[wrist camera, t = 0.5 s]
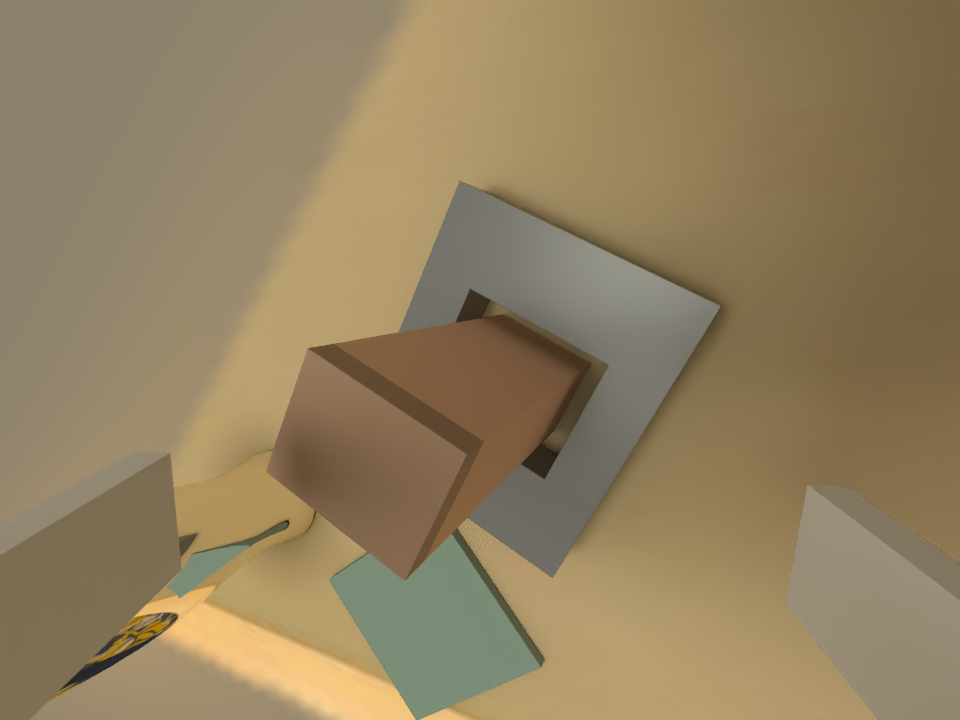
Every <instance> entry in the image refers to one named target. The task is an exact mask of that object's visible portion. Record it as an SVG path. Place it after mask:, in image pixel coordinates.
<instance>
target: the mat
mask: <svg viewBox="0 0 960 720" xmlns="http://www.w3.org/2000/svg"><path fill="white" fill-rule="evenodd" d="M329 581H330V583H331V585H332V586H333V588H334V589H335V591H336V593H337V594H338V596H339V597H340V599H341V601H342V602H343V604H344V605H345V607H346V609H347V610H348V612H349V613H350V615H351V617H352V618H353V620H354V621H355V623H356V625H357V626H358V628H359V629H360V631H361V633H362V634H363V636H364V637H365V639H366V641H367V642H368V644H369V645H370V647H371V649H372V650H373V652H374V653H375V655H376V657H377V658H378V660H379V661H380V663H381V665H382V666H383V668H384V669H385V671H386V673H387V674H388V676H389V677H390V679H391V681H392V682H393V684H394V685H395V687H396V689H397V690H398V692H399V693H400V695H401V697H402V698H403V700H404V701H405V703H406V705H407V706H408V708H409V709H410V711H411V713H412V714H413V716H414V717H415V719H416V720H419V719H422V718H424V717H426V716H429V715H431V714H433V713H436V712H438V711H440V710H443V709H445V708H447V707H450V706H452V705H454V704H457V703H459V702H461V701H464V700H466V699H468V698H471V697H473V696H475V695H478V694H480V693H482V692H485V691H487V690H489V689H492V688H494V687H496V686H499V685H501V684H503V683H506V682H508V681H510V680H513V679H515V678H517V677H520V676H522V675H524V674H527V673H529V672H531V671H534V670H536V669H538V668H541V666H542V664H543V662H544V659H543V657H542V656H541V654H540V653H539V651H538V650H537V648H536V647H535V645H534V644H533V642H532V641H531V639H530V638H529V636H528V635H527V633H526V632H525V630H524V629H523V627H522V626H521V624H520V623H519V621H518V620H517V618H516V617H515V615H514V614H513V612H512V611H511V609H510V608H509V606H508V605H507V603H506V602H505V601H504V599H503V598H502V596H501V595H500V593H499V592H498V590H497V589H496V587H495V586H494V584H493V583H492V581H491V580H490V578H489V577H488V575H487V574H486V572H485V571H484V569H483V568H482V566H481V565H480V563H479V562H478V560H477V559H476V557H475V556H474V554H473V553H472V551H471V550H470V548H469V547H468V545H467V544H466V542H465V541H464V539H463V538H462V536H461V535H460V533H459V532H458V531H457V529H456V530H455V531H454V532H453V533H452V534H451V535H450V536H449V537H448V538H447V539H446V540H445V541H444V542H443V543H442V544H441V545H440V546H439V547H438V548H437V549H436V550H435V551H434V552H433V553H432V554H431V555H430V556H429V557H428V558H427V559H426V560H425V561H424V562H423V563H422V564H421V565H420V566H419V567H418V568H417V569H416V570H415V571H414V572H413V573H412V574H411V575H410V576H409V577H408V578H407V579H406V580H405V581H404V580H403V579H401V578H400V577H399V576H398V575H396V574H395V573H394V572H393V571H391V570H390V569H389V568H387V567H386V566H385V565H384V564H382V563H381V562H380V561H379V560H377V559H376V558H375V557H373V556H372V555H371V554H370V553H367V554H365V555H364V556H362V557H361V558H359V559H358V560H356V561H355V562H353V563H352V564H351V565H349V566H348V567H346V568H345V569H343V570H342V571H340V572H339V573H337V574H336V575H334V576H333V577H332V578H330V579H329Z"/></svg>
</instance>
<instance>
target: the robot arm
mask: <svg viewBox="0 0 960 720" xmlns="http://www.w3.org/2000/svg"><path fill="white" fill-rule="evenodd" d="M181 570H182V569H181V559H180V549H179V538H178V528H177V518H176V508H175V498H174V488H173V477H172V467H171V457H170V453H165V452H145V451H134V452H132V453H130V454H128V455H126V456H124V457H123V458H121V459H119V460H117V461H115V462H113V463H112V464H110V465H108V466H106V467H104V468H102V469H100V470H98V471H97V472H95V473H93V474H91V475H89V476H87V477H86V478H84V479H82V480H80V481H78V482H76V483H74V484H73V485H71V486H69V487H67V488H65V489H63V490H61V491H59V492H58V493H56V494H54V495H52V496H50V497H48V498H46V499H45V500H43V501H41V502H39V503H37V504H35V505H33V506H32V507H30V508H28V509H26V510H24V511H22V512H21V513H19V514H17V515H15V516H13V517H11V518H9V519H7V520H6V521H4V522H2V523H0V720H30V719H31V718H32V717H33V716H34V715H35V714H36V713H37V712H38V711H39V710H40V709H41V708H42V707H43V706H44V705H45V704H46V703H47V702H48V701H49V700H50V699H51V698H52V697H53V696H54V695H55V694H56V693H57V692H58V691H59V690H60V689H61V688H62V687H63V686H64V685H65V684H66V683H67V682H68V681H69V680H70V679H71V678H72V677H74V676H75V675H76V674H77V673H78V672H79V671H80V670H81V669H82V668H83V667H84V666H85V665H86V664H87V663H88V662H89V661H90V660H91V659H92V658H93V657H94V656H95V655H96V654H97V653H98V652H99V651H100V650H101V649H102V648H103V647H104V646H105V645H106V644H107V643H108V642H109V641H110V640H111V639H112V638H113V637H114V636H115V635H116V634H117V633H118V632H119V631H120V630H121V629H122V628H123V627H124V626H125V625H126V624H127V623H128V622H129V621H130V620H131V619H132V618H133V617H134V616H135V615H136V614H137V613H138V612H139V611H140V610H141V609H142V608H143V607H144V606H145V605H146V604H147V603H148V602H149V601H150V600H151V599H152V598H153V597H154V596H155V595H156V594H157V593H159V592H160V591H161V590H162V589H163V588H164V587H165V586H166V585H167V584H168V583H169V582H170V581H171V580H172V579H173V578H174V577H175V576H176V575H177V574H178V573H179V572H180V571H181ZM786 606H787V607H788V608H789V610H790V611H791V612H792V613H793V615H794V616H795V617H796V618H797V620H798V621H799V622H800V623H801V625H802V626H803V627H804V628H805V630H806V631H807V632H808V633H809V634H810V636H811V637H812V638H813V639H814V641H815V642H816V643H817V644H818V646H819V647H820V648H821V649H822V651H823V652H824V653H825V654H826V656H827V657H828V658H829V659H830V661H831V662H832V663H833V664H834V666H835V667H836V668H837V669H838V671H839V672H840V673H841V674H842V675H843V677H844V678H845V679H846V680H847V682H848V683H849V684H850V685H851V687H852V688H853V689H854V690H855V692H856V693H857V694H858V695H859V697H860V698H861V699H862V700H863V702H864V703H865V704H866V705H867V707H868V708H869V709H870V710H871V712H872V713H873V714H874V715H875V716H876V718H877V719H878V720H960V563H958V562H957V561H955V560H954V559H952V558H951V557H949V556H948V555H946V554H945V553H944V552H942V551H941V550H939V549H938V548H936V547H935V546H933V545H932V544H930V543H929V542H927V541H926V540H924V539H923V538H921V537H920V536H918V535H917V534H916V533H914V532H913V531H911V530H910V529H908V528H907V527H905V526H904V525H902V524H901V523H899V522H898V521H896V520H895V519H893V518H892V517H891V516H889V515H888V514H886V513H885V512H883V511H882V510H880V509H879V508H877V507H876V506H874V505H873V504H871V503H870V502H868V501H867V500H865V499H864V498H863V497H861V496H860V495H858V494H857V493H855V492H854V491H852V490H851V489H849V488H848V487H846V486H828V485H808V484H807V489H806V494H805V500H804V505H803V511H802V516H801V522H800V527H799V533H798V538H797V544H796V549H795V555H794V560H793V566H792V571H791V577H790V582H789V588H788V594H787V599H786Z"/></svg>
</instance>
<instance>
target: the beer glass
mask: <svg viewBox="0 0 960 720" xmlns="http://www.w3.org/2000/svg"><path fill="white" fill-rule="evenodd" d="M272 452H273V450H270V451H264V452H261V453H259V454H257V455H255V456H253V457H252V458H250V459H248V460H247V461H245V462H244V463H242V464H241V465H239V466H238V467H236V468H235V469H233V470H231V471H229V472H227V473H225V474H223V475H221V476H218V477H215V478H212V479H209V480H206V481H201V482H197V483H193V484H188V485H183V486H178V487H173V488H174V498H175V508H176V518H177V528H178V538H179V549H180V559H181V569H182V570H181V571H180V572H179V573H178V574H177V575H176V576H175V577H174V578H173V579H172V580H171V581H170V582H169V583H168V584H167V585H166V586H165V587H164V588H163V589H162V590H161V591H160V592H159V593H157V594H156V595H155V596H154V597H153V598H152V599H151V600H150V601H149V602H148V603H147V604H146V605H145V606H144V607H143V608H142V609H141V610H140V611H139V612H138V613H137V614H136V615H135V616H134V617H133V618H132V619H131V620H130V621H129V622H128V623H127V624H126V625H125V626H124V627H123V628H122V629H121V630H120V631H119V632H118V633H117V634H116V635H115V636H114V637H113V638H112V639H111V640H110V641H109V642H108V643H107V644H106V645H105V646H104V647H103V648H102V649H101V650H100V651H99V652H98V653H97V654H96V655H95V656H94V657H93V658H92V659H91V660H90V661H89V662H88V663H87V664H86V665H85V666H84V667H83V668H82V669H81V670H80V671H79V672H78V673H77V674H76V675H75V676H74V677H72V678H71V679H70V680H69V681H68V682H67V683H66V684H65V685H64V686H63V687H62V688H61V689H60V690H59V691H58V692H57V693H56V694H55V695H54V696H53V697H52V698H51V699H50V700H49V701H51V700H53V699H55V698H56V697H58V696H60V695H62V694H63V693H65V692H67V691H69V690H71V689H72V688H74V687H76V686H78V685H80V684H81V683H83V682H85V681H87V680H89V679H90V678H92V677H94V676H95V675H97V674H99V673H101V672H102V671H104V670H106V669H108V668H109V667H111V666H113V665H114V664H116V663H118V662H119V661H121V660H123V659H124V658H126V657H127V656H129V655H131V654H132V653H134V652H135V651H137V650H139V649H140V648H142V647H143V646H145V645H146V644H148V643H149V642H151V641H152V640H154V639H155V638H156V637H158V636H159V635H161V634H162V633H164V632H165V631H166V630H168V629H169V628H171V627H172V626H173V625H174V624H176V623H177V622H178V621H179V620H181V619H182V618H183V617H184V616H185V615H187V614H188V613H189V612H190V611H192V610H193V609H194V608H195V607H196V606H198V605H199V604H200V603H201V602H202V601H203V600H204V599H205V598H207V597H208V596H209V595H210V594H211V593H212V592H213V591H214V590H216V589H217V588H218V587H219V586H220V585H221V584H222V583H223V582H224V581H225V580H227V579H228V578H229V577H230V576H231V575H232V574H233V573H234V572H236V571H237V570H238V569H239V568H240V567H241V566H243V565H244V564H245V563H246V562H247V561H249V560H250V559H251V558H253V557H254V556H256V555H257V554H259V553H260V552H262V551H264V550H265V549H268V548H270V547H272V546H275V545H277V544H280V543H283V542H286V541H289V540H291V539H294V538H296V537H298V536H300V535H302V534H303V533H304V532H305V531H306V530H307V529H308V528H309V527H310V525H311V523H312V521H313V518H314V514H315V510H314V509H312V508H311V507H310V506H309V505H307V504H306V503H305V502H304V501H302V500H301V499H300V498H298V497H297V496H296V495H295V494H293V493H292V492H291V491H290V490H288V489H287V488H286V487H284V486H283V485H282V484H281V483H279V482H278V481H277V480H276V479H274V478H273V477H272V476H271V475H269V474H268V473H267V472H266V470H267V467H268V464H269V461H270V458H271V455H272ZM49 701H48V702H49ZM48 702H47V703H48Z"/></svg>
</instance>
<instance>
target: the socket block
mask: <svg viewBox="0 0 960 720" xmlns="http://www.w3.org/2000/svg"><path fill="white" fill-rule="evenodd" d="M489 299H490V300H492V301H494V302H495V303H497V304H499V305H501V306H503V307H504V308H506V309H508V310H510V311H512V312H514V313H515V314H517V315H519V316H521V317H523V318H524V319H526V320H528V321H530V322H532V323H534V324H535V325H537V326H539V327H541V328H543V329H544V330H546V331H548V332H550V333H552V334H553V335H555V336H557V337H559V338H561V339H563V340H564V341H566V342H568V343H570V344H572V345H573V346H575V347H577V348H579V349H581V350H583V351H584V352H586V353H588V354H590V355H592V356H593V357H595V358H597V359H599V360H601V361H603V362H604V363H606V364H608V365H609V366H608V368H607V370H606V371H605V373H604V375H603V377H602V379H601V380H600V382H599V384H598V386H597V387H596V389H595V391H594V393H593V394H592V396H591V398H590V400H589V402H588V403H587V405H586V407H585V409H584V410H583V412H582V414H581V416H580V418H579V419H578V421H577V423H576V425H575V426H574V428H573V430H572V432H571V433H570V435H569V437H568V439H567V441H566V442H565V444H564V446H563V448H562V449H561V451H560V453H559V455H558V456H557V455H556V454H554V453H552V452H551V451H549V450H548V449H546V448H544V447H543V446H541V445H539V446H538V447H537V448H536V449H535V450H534V451H533V452H532V453H531V454H530V455H529V456H528V457H527V458H526V459H525V460H524V461H523V462H522V463H521V464H520V465H519V466H518V467H517V468H516V469H515V470H514V471H513V472H512V473H511V474H510V475H509V476H508V477H507V478H506V479H505V481H504V482H503V483H502V484H501V485H500V486H499V487H498V488H497V489H496V490H495V491H494V492H493V493H492V494H491V495H490V496H489V497H488V498H487V499H486V500H485V501H484V502H483V503H482V504H481V505H480V506H479V507H478V508H477V509H476V510H475V511H474V512H473V513H472V514H471V515H470V516H469V517H468V518H469V519H470V520H471V521H473V522H474V523H476V524H477V525H479V526H480V527H481V528H483V529H484V530H486V531H487V532H488V533H490V534H491V535H493V536H494V537H495V538H497V539H498V540H500V541H501V542H502V543H504V544H505V545H507V546H508V547H510V548H511V549H512V550H514V551H515V552H517V553H518V554H519V555H521V556H522V557H524V558H525V559H526V560H528V561H529V562H531V563H532V564H534V565H535V566H536V567H538V568H539V569H541V570H542V571H543V572H545V573H546V574H548V575H549V576H550V577H552V578H553V577H554V575H555V574H556V572H557V570H558V569H559V567H560V566H561V564H562V562H563V561H564V559H565V558H566V556H567V554H568V553H569V551H570V549H571V548H572V546H573V545H574V543H575V541H576V540H577V538H578V537H579V535H580V533H581V532H582V530H583V528H584V527H585V525H586V524H587V522H588V520H589V519H590V517H591V515H592V514H593V512H594V511H595V509H596V507H597V506H598V504H599V503H600V501H601V499H602V498H603V496H604V494H605V493H606V491H607V490H608V488H609V486H610V485H611V483H612V482H613V480H614V478H615V477H616V475H617V473H618V472H619V470H620V469H621V467H622V465H623V464H624V462H625V461H626V459H627V457H628V456H629V454H630V452H631V451H632V449H633V448H634V446H635V444H636V443H637V441H638V439H639V438H640V436H641V435H642V433H643V431H644V430H645V428H646V427H647V425H648V423H649V422H650V420H651V418H652V417H653V415H654V414H655V412H656V410H657V409H658V407H659V406H660V404H661V402H662V401H663V399H664V397H665V396H666V394H667V393H668V391H669V389H670V388H671V386H672V384H673V383H674V381H675V380H676V378H677V376H678V375H679V373H680V372H681V370H682V368H683V367H684V365H685V363H686V362H687V360H688V359H689V357H690V355H691V354H692V352H693V351H694V349H695V347H696V346H697V344H698V342H699V341H700V339H701V338H702V336H703V334H704V333H705V331H706V330H707V328H708V326H709V325H710V323H711V321H712V320H713V318H714V317H715V315H716V313H717V312H718V310H719V308H720V307H721V306H720V304H719V303H718V302H716V301H714V300H711V299H709V298H707V297H705V296H703V295H701V294H699V293H697V292H695V291H693V290H691V289H688V288H686V287H684V286H682V285H680V284H678V283H676V282H674V281H672V280H670V279H668V278H666V277H663V276H661V275H659V274H657V273H655V272H653V271H651V270H649V269H647V268H645V267H643V266H640V265H638V264H636V263H634V262H632V261H630V260H628V259H626V258H624V257H622V256H620V255H617V254H615V253H613V252H611V251H609V250H607V249H605V248H603V247H601V246H599V245H597V244H594V243H592V242H590V241H588V240H586V239H584V238H582V237H580V236H578V235H576V234H574V233H572V232H569V231H567V230H565V229H563V228H561V227H559V226H557V225H555V224H553V223H551V222H549V221H546V220H544V219H542V218H540V217H538V216H536V215H534V214H532V213H530V212H528V211H526V210H523V209H521V208H519V207H517V206H515V205H513V204H511V203H509V202H507V201H505V200H503V199H501V198H498V197H496V196H494V195H492V194H490V193H488V192H486V191H483V190H481V189H478V188H476V187H473V186H471V185H468V184H466V183H463V182H461V181H460V182H459V184H458V186H457V189H456V191H455V194H454V196H453V199H452V201H451V204H450V206H449V209H448V211H447V214H446V216H445V219H444V221H443V224H442V226H441V229H440V231H439V234H438V236H437V239H436V241H435V244H434V246H433V249H432V251H431V254H430V256H429V259H428V261H427V264H426V266H425V268H424V271H423V273H422V276H421V278H420V281H419V283H418V286H417V288H416V291H415V293H414V296H413V298H412V301H411V303H410V306H409V308H408V311H407V313H406V316H405V318H404V321H403V323H402V326H401V328H400V331H399V332H405V331H411V330H417V329H422V328H428V327H434V326H439V325H445V324H451V323H457V322H462V321H468V320H474V319H480V318H481V317H482V315H483V313H484V310H485V308H486V306H487V304H488V302H489Z"/></svg>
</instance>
